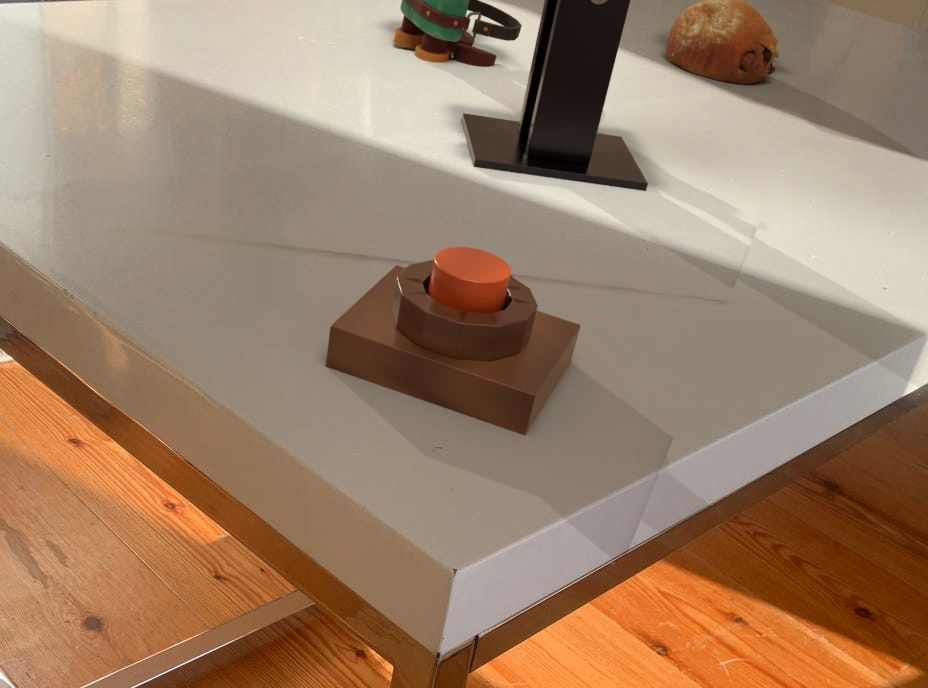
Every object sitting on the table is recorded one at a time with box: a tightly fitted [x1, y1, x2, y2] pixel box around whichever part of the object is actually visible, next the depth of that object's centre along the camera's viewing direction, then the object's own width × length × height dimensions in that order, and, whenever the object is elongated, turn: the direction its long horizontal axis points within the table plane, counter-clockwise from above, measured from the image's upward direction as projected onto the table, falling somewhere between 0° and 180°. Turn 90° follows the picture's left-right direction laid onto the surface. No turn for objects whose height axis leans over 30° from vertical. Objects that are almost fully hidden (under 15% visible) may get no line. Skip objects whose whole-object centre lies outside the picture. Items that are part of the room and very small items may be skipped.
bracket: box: [461, 0, 649, 192], centre depth 75 cm, size 12×9×14 cm
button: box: [428, 246, 512, 313], centre depth 52 cm, size 4×4×2 cm
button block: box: [325, 259, 581, 436], centre depth 54 cm, size 10×8×4 cm
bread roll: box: [665, 0, 780, 85], centre depth 107 cm, size 10×10×8 cm
